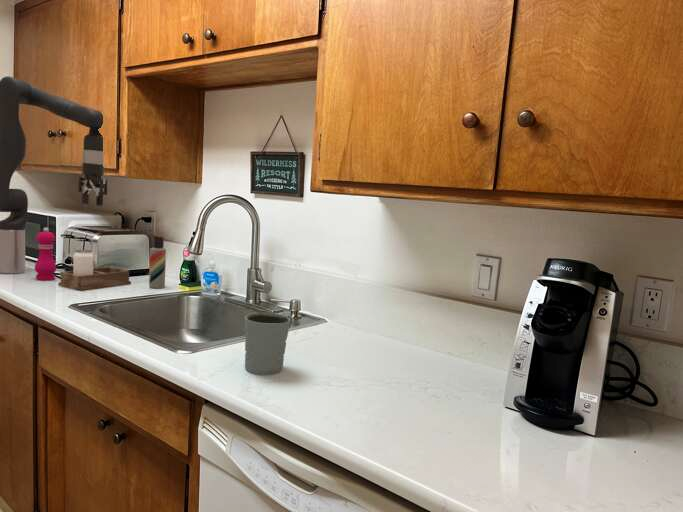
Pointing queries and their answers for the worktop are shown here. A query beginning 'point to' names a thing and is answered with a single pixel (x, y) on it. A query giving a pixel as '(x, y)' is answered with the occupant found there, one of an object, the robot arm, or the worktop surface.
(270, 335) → the gray cup
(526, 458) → the worktop surface
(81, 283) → the caddy
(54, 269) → the pepper mill
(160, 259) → the striped water bottle
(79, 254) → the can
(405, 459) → the worktop surface
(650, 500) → the worktop surface
